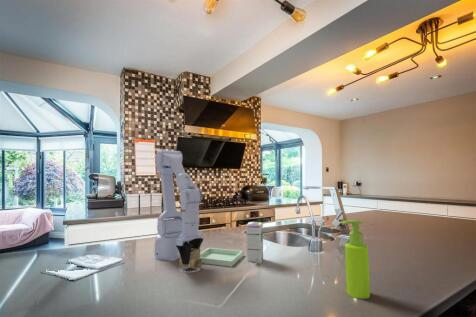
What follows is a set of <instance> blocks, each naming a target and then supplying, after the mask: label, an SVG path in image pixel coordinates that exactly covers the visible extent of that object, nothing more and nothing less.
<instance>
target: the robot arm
mask: <svg viewBox="0 0 476 317" xmlns="http://www.w3.org/2000/svg"><path fill="white" fill-rule="evenodd" d="M183 159H184V158H183V153H182V152H181V151H180V150H167V149H158V150H157V152H156V154H155V168H156V171H157V172H158V173H159V174H160V182H161V183H160V184H161V193H162V195H161V196H162V204H163V212H162V213H161V214H159V216H158V217H157V223H156V224H157V225H156V232H157V233H158V235H157V237H156V238H155V241H154V257H153V259H156V260H164V261H172V262H174V261H176V260H179V258H180V256H181V260H182V264H184V265H188V264H189V260H190V252H191V249H192V248H195V249H201V246H202V243H203V242H204V238H203V231H202V230H199V227H200V226H199V225H200V224H199V222H200V221H199V217H200V214H199V211H200V206H199V205H200V204H201V203H202V200H203V192H202V189H201V188H199V187H198V186H195V184H194V182H193V180H192V178H191V176H190V174H189V173H186V171H185V168H184V166H183ZM173 173H174V175H175V184H176V186H177V188H178V191H179V202H180V209H181V210H182V212H180V211H178V210H177V204H176V196H175V195H176V194H175V187H174V176H173Z"/></svg>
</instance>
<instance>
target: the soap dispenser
mask: <svg viewBox="0 0 476 317" xmlns="http://www.w3.org/2000/svg"><path fill="white" fill-rule="evenodd" d="M340 223H341V224H343V225H350V224H351V225H352V227H351V228H352V229H351V230H352V231H349V232H348V234H349V238H348V239H349V242H348V243H347V242H346V243H345V244H344V254H345V257H344V258H345V284H346V294H347V295H348V296H350V297H353V298H356V299H361V300H362V299H365V300H367V299H369V298H370V297H371V291H370V290H371V288H370V287H371V286H370V285H371V284H370V264H369V259H370V258H369V246H368V245H365V244H364V243H363V242H364V239H363V233H362V232H361V231H360V225H361V224H363V222H362V220H361V221H360V220H354V219H353V220H352V219H349V220H348V219H347V220H343V221H341V222H340Z"/></svg>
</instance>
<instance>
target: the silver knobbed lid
mask: <svg viewBox="0 0 476 317" xmlns="http://www.w3.org/2000/svg"><path fill="white" fill-rule="evenodd" d="M201 269H202V265H201V266H200V267H194V268H186V267H178V269H177V271H178V272H181V273H188V274H189V273H196V272H198V271H200V270H201Z"/></svg>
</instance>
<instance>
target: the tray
mask: <svg viewBox="0 0 476 317" xmlns="http://www.w3.org/2000/svg"><path fill="white" fill-rule="evenodd" d="M243 257H244V250H237V249H236V250H235V249H225V248H216V247H208V248H205V249H204V250H203V251H200V259H201V264H206V265H214V266H222V267H231V268H232V267H233V266H234V265H235V264H236V263H237V262H238V261H239V260H240V259H242V258H243Z"/></svg>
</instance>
